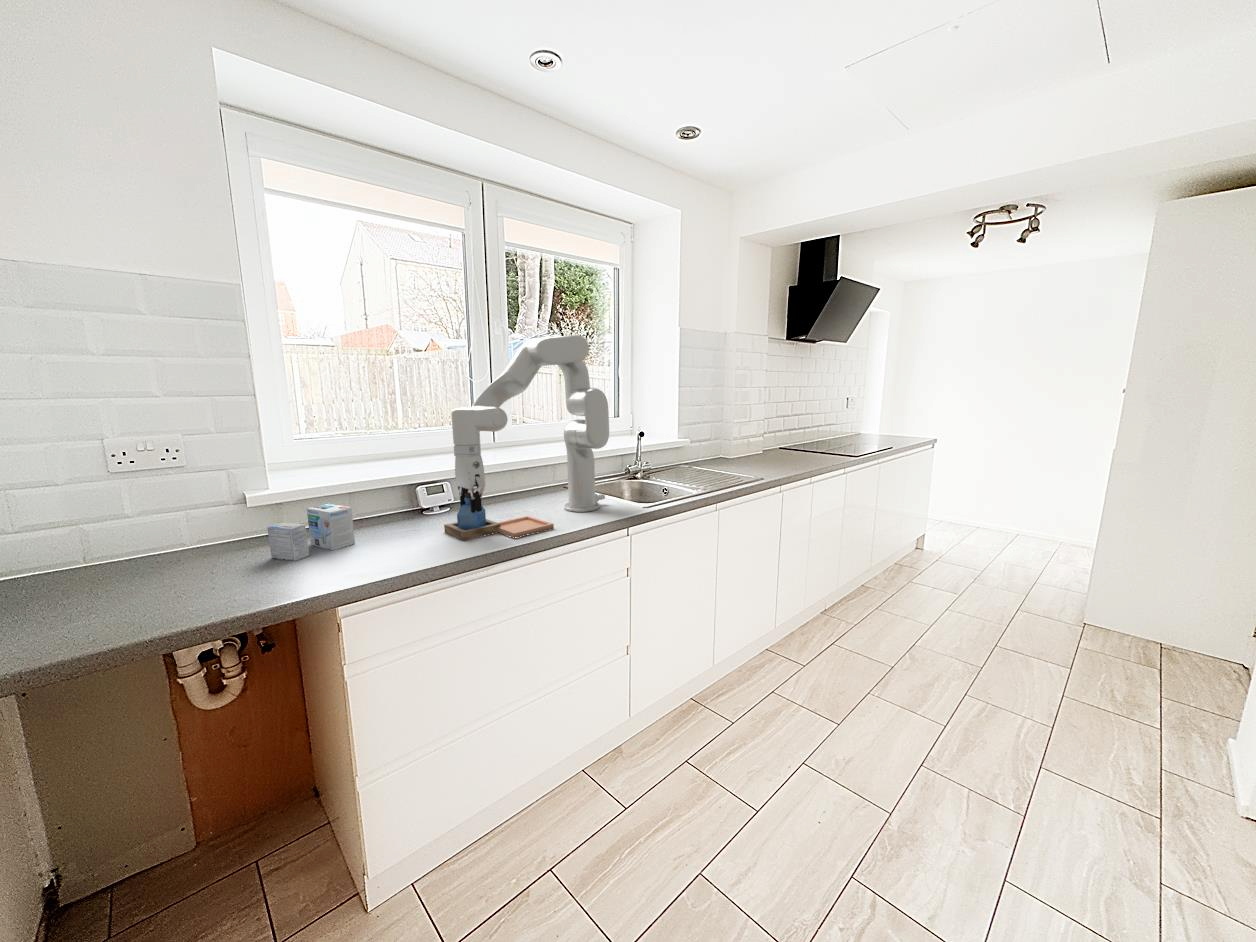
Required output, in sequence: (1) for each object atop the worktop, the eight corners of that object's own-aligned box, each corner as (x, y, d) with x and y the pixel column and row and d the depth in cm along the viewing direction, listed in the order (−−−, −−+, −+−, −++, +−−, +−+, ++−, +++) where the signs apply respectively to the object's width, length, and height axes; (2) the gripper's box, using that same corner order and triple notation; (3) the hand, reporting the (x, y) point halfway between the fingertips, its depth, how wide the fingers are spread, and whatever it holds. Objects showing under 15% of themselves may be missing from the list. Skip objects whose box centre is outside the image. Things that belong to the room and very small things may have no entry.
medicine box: (310, 555, 132) (306, 524, 130) (294, 561, 127) (290, 528, 126) (286, 553, 134) (282, 522, 132) (270, 559, 130) (266, 526, 128)
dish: (527, 520, 164) (527, 515, 164) (553, 528, 154) (553, 523, 154) (489, 529, 154) (489, 524, 154) (514, 538, 144) (514, 533, 144)
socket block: (480, 524, 160) (480, 516, 159) (500, 531, 151) (500, 523, 151) (444, 532, 151) (444, 524, 151) (463, 540, 143) (463, 532, 143)
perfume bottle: (486, 529, 154) (484, 491, 152) (478, 535, 148) (476, 495, 146) (467, 529, 155) (464, 491, 153) (458, 535, 149) (455, 495, 147)
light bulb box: (309, 545, 141) (305, 507, 139) (333, 538, 147) (329, 502, 145) (333, 550, 136) (328, 512, 134) (356, 543, 142) (352, 506, 140)
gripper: (494, 451, 144) (497, 512, 147) (465, 446, 156) (468, 503, 159) (469, 454, 139) (473, 517, 142) (442, 449, 151) (446, 507, 154)
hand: (471, 509), depth 150 cm, fingers closed on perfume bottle, 5 cm apart
